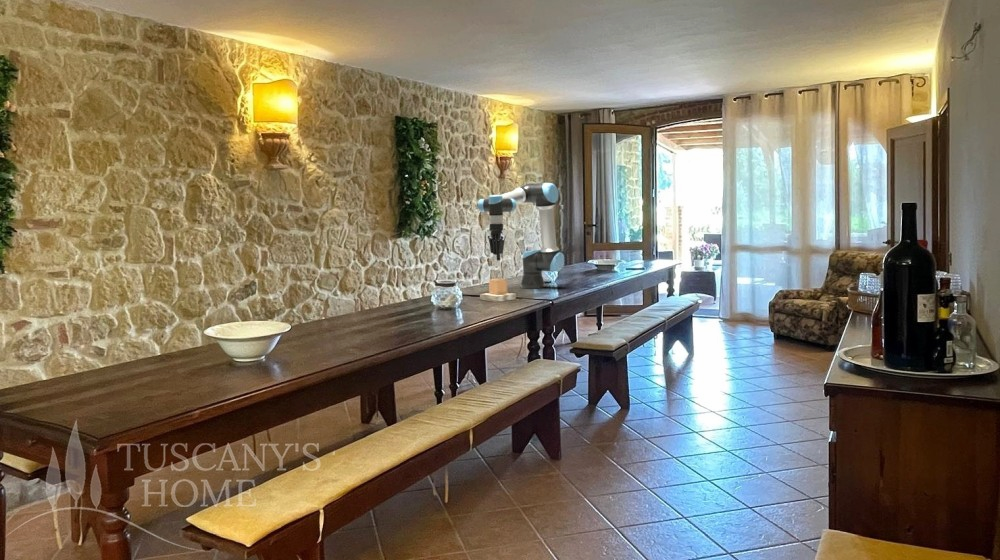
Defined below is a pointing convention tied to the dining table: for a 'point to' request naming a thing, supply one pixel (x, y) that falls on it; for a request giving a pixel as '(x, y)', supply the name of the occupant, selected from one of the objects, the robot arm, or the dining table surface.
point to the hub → (498, 297)
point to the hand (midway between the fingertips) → (497, 266)
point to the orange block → (498, 286)
